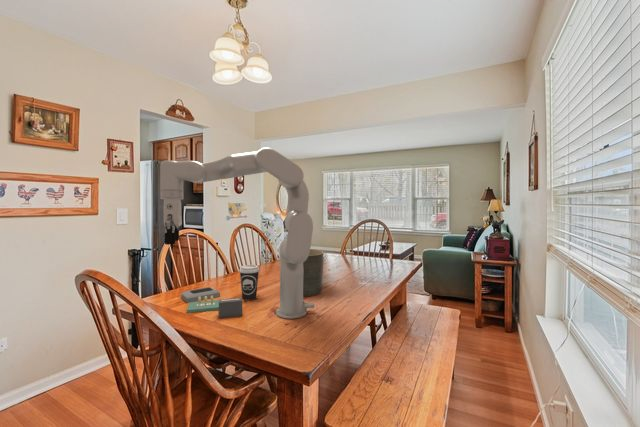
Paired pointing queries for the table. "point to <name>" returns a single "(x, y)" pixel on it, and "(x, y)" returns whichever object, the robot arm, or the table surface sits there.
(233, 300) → the block
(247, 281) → the coffee cup
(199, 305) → the board
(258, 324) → the table surface
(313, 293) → the planter
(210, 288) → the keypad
